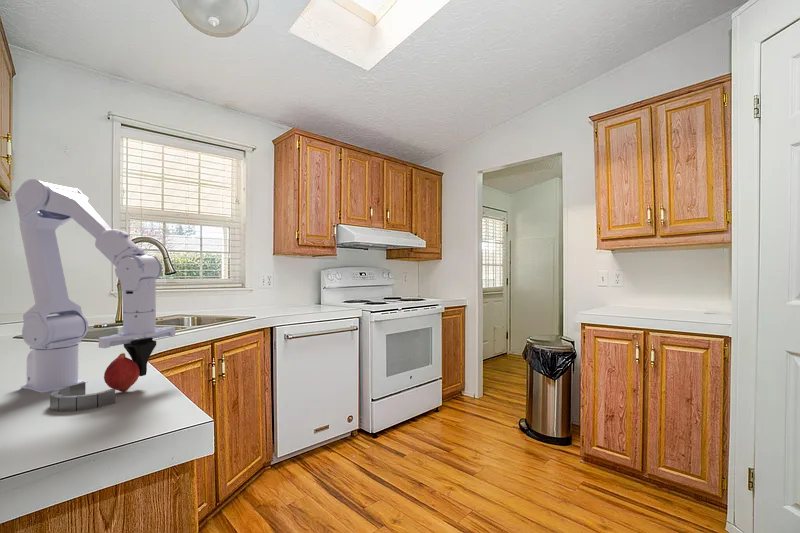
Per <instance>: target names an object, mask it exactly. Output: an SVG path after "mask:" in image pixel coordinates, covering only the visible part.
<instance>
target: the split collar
mask: <svg viewBox="0 0 800 533" xmlns="http://www.w3.org/2000/svg"><path fill="white" fill-rule="evenodd" d="M113 404H116V390H115V389H112V388H109V389H107V390H102V391H99V392H94V393H88V394H87V393H86V383H85V382H79V383H75V384H70V385H66V386H63V387H61V388H58V389H56V390H53V391H51V393H50V395H49V410H51V411H54V412H58V413H62V412H80V411H85V410H86V411H87V410H93V409H97V408H98V409H99V408H102V406H103V407H105V406H110V405H113Z"/></svg>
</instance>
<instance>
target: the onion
mask: <svg viewBox="0 0 800 533" xmlns="http://www.w3.org/2000/svg"><path fill="white" fill-rule="evenodd" d="M139 375H140V370H139V367H138V365H137V364H136V363H135V362H134V361H133V360H132V359H131V358H128V357H126V354H125V352H121V353H120V354H119V355H118V356H117V357H116V358H115V359H113V360H112V361H111V362H110V364H109V365H108V366H107V367H106V369H105V371H104V375H103V379H104V383H105V384H106V385H107V387H108V388H109V389H115V391H119V392H122V393H125V392H127V391H128V390H129V389H131V387H132V386H133V385H134V384H135V383H136V382H137V381H138V380H139V378H140V376H139Z"/></svg>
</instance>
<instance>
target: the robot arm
mask: <svg viewBox="0 0 800 533" xmlns="http://www.w3.org/2000/svg"><path fill="white" fill-rule="evenodd" d="M14 197H15V198H14V199H15V203H16V208H17V213H18V217H19V230H20V234H21V238H22V243H23V248H24V253H25V254H24V255H25V260H26V264H27V268H28V273H29V274H28V275H29V279H30V284H31V289H32V293H33V294H32V295H33V299H34V303H35V304H34V305H32V307H30V308H29V309H27V311H25V312H24V313H23V314H22V319H23V325H22V326H23V327H22V330H21V332H22V333H21V335H22V339H23V341H24V343H25V344H27V346H28V347H29V349H30V351H29V352H28V354H27V357H26V384H22V385H20V388H21V389H25V390H26V389H28V390H32V391H33V392H34V391H35V392H37V393H42V394H43V393H48V392H52V391H53V390H56V389H58V388H61V387H63V386H66V385H70V384H75V383H79V382H85V384H86V383H88V381H87V380H84V379H79V343H82V339H83V338H84V337H85V336H86V335H87V333H88V330H89V322H88V320H87V318H86V317H85V315H84V314H83V311H82V307H81V305H79V304H78V303H76V302H74V301H73V300H72V299H70V297H69V294H68V288H67V283H66V277H65V273H64V268H63V263H62V258H61V253H60V250H59V245H58V238H57V234H56V230H57V229H58V228H59V227H60V226H63V225H65V224H66V223H67V222H69V221H70V220H72V219H73V220H74V221H75V222H76V223H77V224H78V225H79V226H81V228H83V229H84V230H85V231H86V232H88V233H89V235H90V236H92V237H93V238H95V243H94V244H95V245H94V246H95V248H96V249H97V250H98V251H99V252H100V253H101V254H103V256H104V257H106V258H107V260H109V262H111V264H112V265H113V266H115V267H116V268H114V272H115V276H116V277H117V279H118V280H119V281H120V282H119V283H120V289H121V290H122V320H123V321H122V323H123V324H122V325H123V327H122V328H123V330H122V332H119V333H117V334H116V333H115V334H111V335H107V336H102V337H98V348H101V349H107V348H111V347H115V346H121V345H123V348H124V349H125V350H126V352H127V353H128V355H129V357H130V359H131V360H133V361H134V362H135V363H136V364H137V365H138V367H139V370H140V375H139V377H143V376H146V375H147V372H148V371H147V370H148V363H149V362H148V361H149V358H150V357H151V355H152V353H153V351H154V350H155V349H156V347H157V340H155V339H161V338H166V337H175V336H176V327H174V326H167V327H166V326H164V327H157V323H156V321H157V319H156V318H157V317H156V314H157V313H156V310H157V309H156V308H157V306H156V305H157V304H156V303H157V298H156V295H157V293H156V280H157V279H159V277H160V276H161V274H162V269H163V266H162V263H161V261H160V260H159V258H158V257H157V256H156V255H154V254H147V253H146V252H144V251H145V250H144V249H143V248H142V247H139V246H138V245H137V244H135V242H134V241H132V239H130V234H129V233H128V232H127V231H124V230H121V229H114V228H113V229H112V228H111V226H110V225H109V224H107V221H105V220H104V219H103V218H102V217H101V216H100V214H99V213H97V211H96V210H95V209H94V208H93V206H92V205H91V204H90V202H89V201H90V200H89V197H88V196H86V195H85V194H84V192H82V191H81V190H80V189H78V188H77V187H73V186H70V187H69V186H64V185H60V184H55V183H50V182H46V181H45V182H44V181H41V180H40V179H34V178H32V179H27V180H25V181H24V182H23V183H22V184H21V185H20V186H19V187H18V189H17V190H16V192H15V193H14ZM50 315H51V316H50Z"/></svg>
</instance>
